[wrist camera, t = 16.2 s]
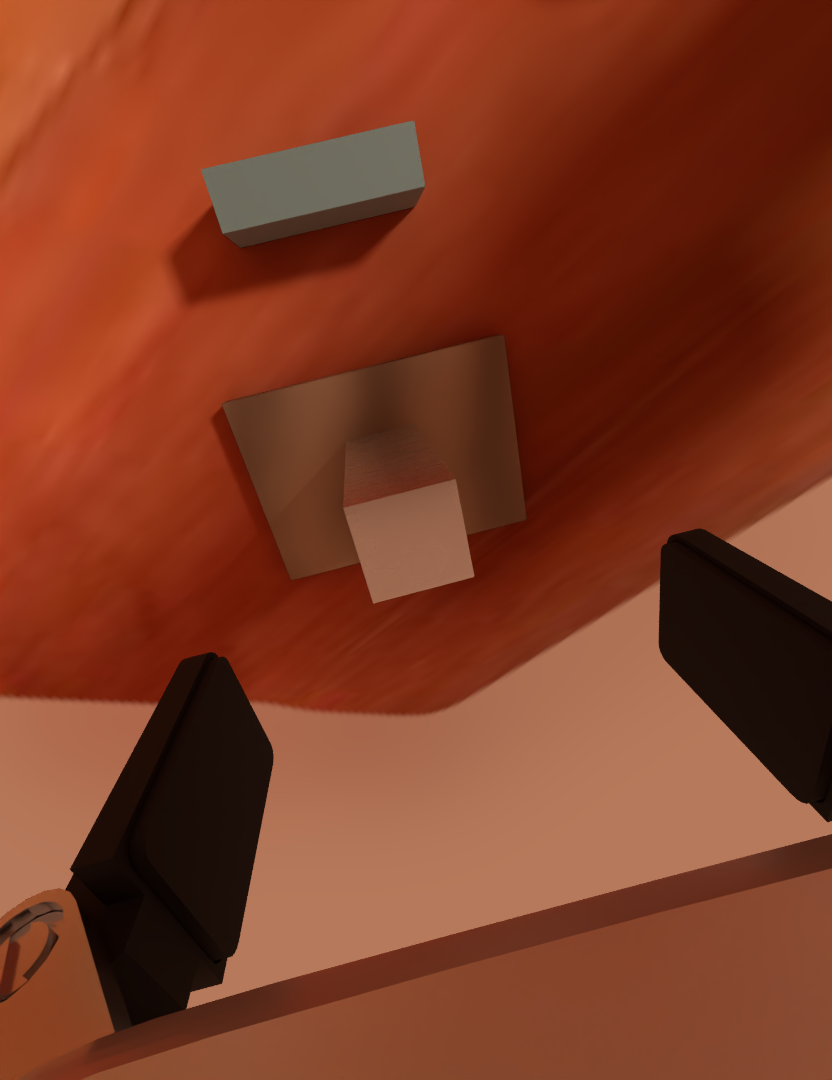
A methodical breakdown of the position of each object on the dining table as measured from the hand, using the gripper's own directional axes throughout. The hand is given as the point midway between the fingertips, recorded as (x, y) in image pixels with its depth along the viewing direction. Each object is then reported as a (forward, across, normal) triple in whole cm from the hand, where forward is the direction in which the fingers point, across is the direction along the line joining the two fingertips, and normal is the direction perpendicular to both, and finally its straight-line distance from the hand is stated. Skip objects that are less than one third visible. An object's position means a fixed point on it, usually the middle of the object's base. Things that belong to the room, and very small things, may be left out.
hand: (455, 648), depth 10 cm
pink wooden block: (+16, 0, +1) cm, 16 cm away
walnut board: (+17, 0, 0) cm, 17 cm away
